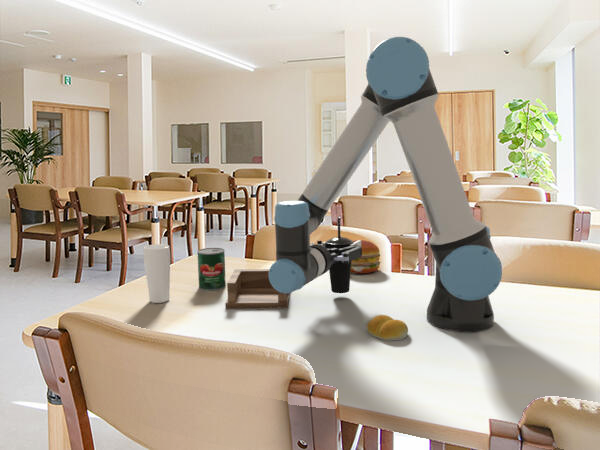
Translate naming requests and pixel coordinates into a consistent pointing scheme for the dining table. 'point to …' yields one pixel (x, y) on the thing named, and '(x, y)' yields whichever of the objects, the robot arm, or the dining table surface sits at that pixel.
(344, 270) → the drinking cup
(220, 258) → the canned tomato
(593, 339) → the dining table surface
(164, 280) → the drinking glass
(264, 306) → the walnut rest
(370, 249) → the burger
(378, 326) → the bread roll
